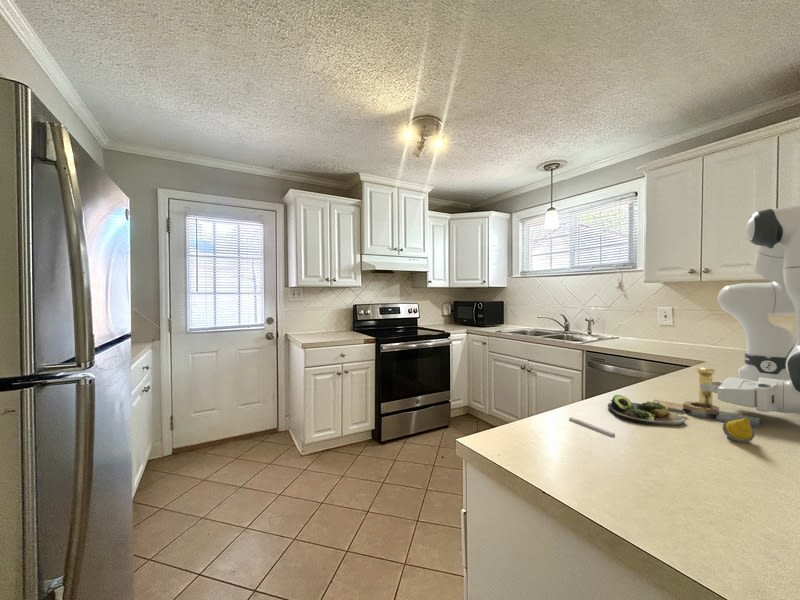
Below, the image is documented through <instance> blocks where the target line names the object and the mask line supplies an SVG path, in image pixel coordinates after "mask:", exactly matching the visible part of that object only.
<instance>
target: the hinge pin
mask: <svg viewBox="0 0 800 600" xmlns="http://www.w3.org/2000/svg"><path fill="white" fill-rule="evenodd" d="M696 372H697V373H698V393H699V394H698V398H699V399H698V400H699V401H698V402H701V403H707V404H711V405H713V392H711V391H708V390H702V389H700V384H701V383H706V384H710V385H712V381H713V375H715V369H714V368H711V367H706V366H705V367H702V366H701V367H699V366H698V367H696Z"/></svg>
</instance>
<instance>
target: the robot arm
mask: <svg viewBox="0 0 800 600" xmlns="http://www.w3.org/2000/svg"><path fill="white" fill-rule="evenodd" d="M745 234H746V237H747V240H748V241H749V242H750V243H751V244H753V245H755V246H757V249H756V253H755V257H754V262H753V266H752V267H753V270H754V272H755V273H756V274H757V275H758V276H760V277H762V278H764V279H766V280H769V281H770V282H748V283H747V282H741V283H737V284H731V285H725V286H724V287H723V288H721V290H720V291H719V293H718V295H717V304H718V305H719V307H720V308H721V310H723V311H724V312H725V313H727V314H729V315H731V316H732V317H733V318H735V319H736V320H737V321H738V323H739V324H740V325H741V326H742V329H743V331H744V337H745V344H746V345H745V347H746V348H745V349H746V352H745V353H744V356H743V360H744V363H745V364H744V365H743V366H742V367H740V368H738V377H733V376H732V377H726V378H725V380H723V381H715V380H712V385H710V384H706V383H701V384H700V389H702V390H708V391H711V392H712V393H714V394H717V399H718V400H719V401H721V402H724V403H729V404H733V405H737V406H743V407H746V408H755V410H756V411H758V412H763V413H764V412H765V413H768V412H773V413H774V412H776V413H781V414H797V415H800V204H797V205H791V206H784V207H778V208H766V209H762V210H758V211H756V212H754V213H753V214H752V215H751V216H750V217H749V219H748V221H747V223H746V226H745ZM770 315H773V316H774V315H776V316H777V315H779V316H780V315H783V316H786V315H787V316H790V315H791V316H792V315H793V316H795V317H796V319H795V321H796V322H795V323H796V324H795V325H796V326H795V327H796V328H795V336H794V334H793V332H792V331H790V329H787V328H786V327H784V326H781V325H779V324H776V323H774V322H773V323H772V322H771V321H770V319H769V316H770Z"/></svg>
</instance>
